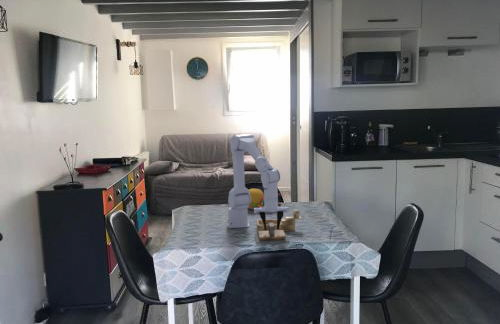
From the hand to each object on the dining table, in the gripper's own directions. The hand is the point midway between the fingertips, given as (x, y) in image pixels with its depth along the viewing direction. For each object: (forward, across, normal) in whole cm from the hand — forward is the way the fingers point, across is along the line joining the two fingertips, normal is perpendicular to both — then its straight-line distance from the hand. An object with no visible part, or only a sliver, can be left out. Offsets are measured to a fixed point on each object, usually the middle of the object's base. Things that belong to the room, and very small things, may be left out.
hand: (271, 228), depth 190 cm
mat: (+4, 0, 0) cm, 4 cm away
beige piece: (-1, +11, +12) cm, 16 cm away
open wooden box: (+4, +3, +12) cm, 13 cm away
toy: (+5, -2, +55) cm, 55 cm away
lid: (+3, 0, 0) cm, 3 cm away
